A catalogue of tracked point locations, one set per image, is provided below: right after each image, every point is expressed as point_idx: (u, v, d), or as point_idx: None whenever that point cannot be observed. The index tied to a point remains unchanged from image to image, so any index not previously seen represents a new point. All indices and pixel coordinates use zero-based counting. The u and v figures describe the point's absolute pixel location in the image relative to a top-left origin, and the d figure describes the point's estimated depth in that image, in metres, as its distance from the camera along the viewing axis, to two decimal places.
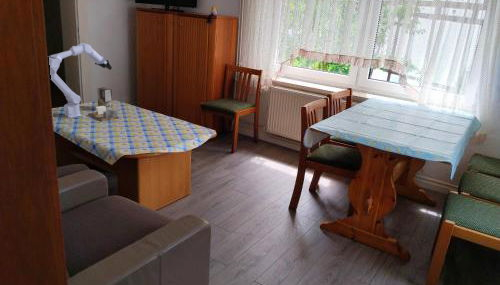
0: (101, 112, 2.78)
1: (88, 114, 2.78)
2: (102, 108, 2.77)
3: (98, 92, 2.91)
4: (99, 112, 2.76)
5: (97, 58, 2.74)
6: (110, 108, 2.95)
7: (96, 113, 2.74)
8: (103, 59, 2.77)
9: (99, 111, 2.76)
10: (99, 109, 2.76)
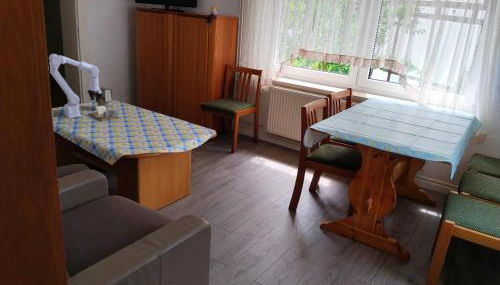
0: (101, 112, 2.78)
1: (88, 114, 2.78)
2: (102, 108, 2.77)
3: None
4: (99, 112, 2.76)
5: (95, 85, 2.75)
6: (110, 108, 2.95)
7: (96, 113, 2.74)
8: None
9: (99, 111, 2.76)
10: (99, 109, 2.76)
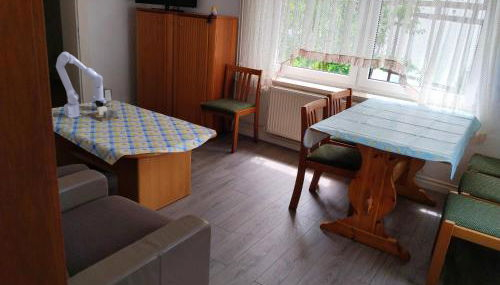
0: (102, 112, 2.77)
1: (88, 114, 2.78)
2: (103, 108, 2.77)
3: None
4: (100, 112, 2.76)
5: (100, 95, 2.74)
6: (110, 108, 2.95)
7: (97, 113, 2.73)
8: (104, 99, 2.76)
9: (101, 111, 2.76)
10: (100, 109, 2.75)
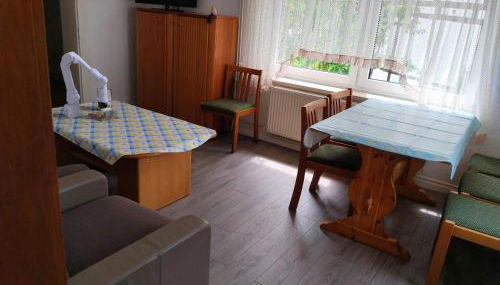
0: None
1: (88, 114, 2.78)
2: (107, 110, 2.74)
3: (98, 92, 2.91)
4: None
5: (104, 96, 2.71)
6: (110, 108, 2.95)
7: (101, 115, 2.70)
8: (108, 101, 2.73)
9: None
10: None
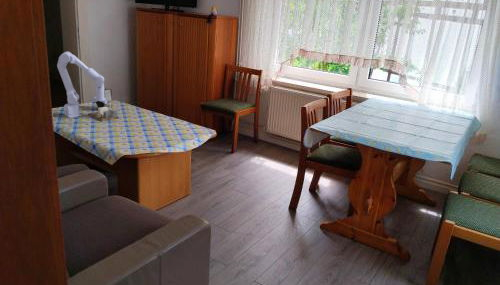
0: None
1: (88, 114, 2.78)
2: (104, 109, 2.76)
3: None
4: (101, 113, 2.75)
5: (101, 95, 2.73)
6: (110, 108, 2.95)
7: (101, 115, 2.70)
8: (105, 100, 2.75)
9: (102, 112, 2.75)
10: (101, 110, 2.74)
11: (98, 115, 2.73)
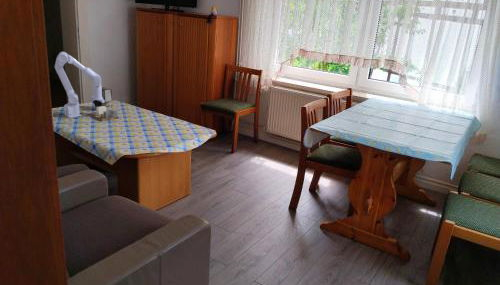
0: (102, 112, 2.77)
1: (88, 114, 2.78)
2: (103, 108, 2.77)
3: None
4: (100, 112, 2.76)
5: (98, 94, 2.75)
6: (110, 108, 2.95)
7: (101, 115, 2.70)
8: (102, 99, 2.77)
9: (100, 111, 2.76)
10: (100, 109, 2.75)
11: (96, 114, 2.74)
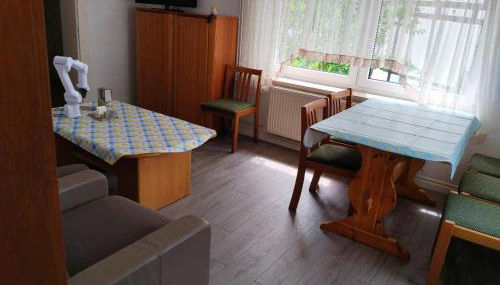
0: (102, 112, 2.77)
1: (88, 114, 2.78)
2: (103, 108, 2.77)
3: (98, 92, 2.91)
4: (100, 112, 2.76)
5: (84, 82, 2.80)
6: (110, 108, 2.95)
7: (101, 115, 2.70)
8: (87, 87, 2.82)
9: (100, 111, 2.76)
10: (100, 109, 2.75)
11: (96, 114, 2.74)
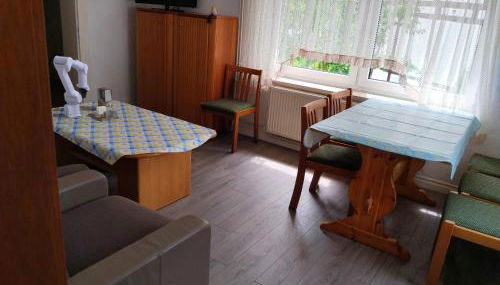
0: (102, 112, 2.77)
1: (88, 114, 2.78)
2: (103, 108, 2.77)
3: (98, 92, 2.91)
4: (100, 112, 2.76)
5: (84, 82, 2.80)
6: (110, 108, 2.95)
7: (101, 115, 2.70)
8: (87, 87, 2.82)
9: (100, 111, 2.76)
10: (100, 109, 2.75)
11: (96, 114, 2.74)
